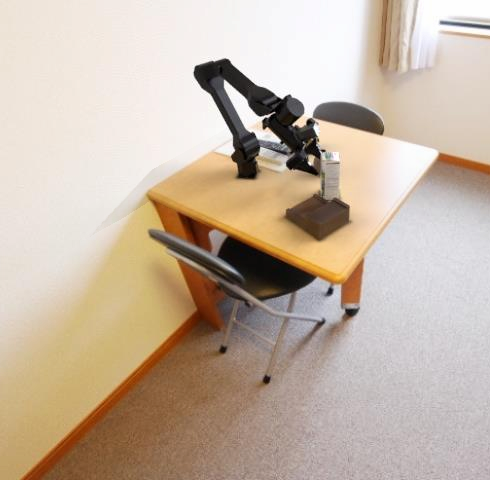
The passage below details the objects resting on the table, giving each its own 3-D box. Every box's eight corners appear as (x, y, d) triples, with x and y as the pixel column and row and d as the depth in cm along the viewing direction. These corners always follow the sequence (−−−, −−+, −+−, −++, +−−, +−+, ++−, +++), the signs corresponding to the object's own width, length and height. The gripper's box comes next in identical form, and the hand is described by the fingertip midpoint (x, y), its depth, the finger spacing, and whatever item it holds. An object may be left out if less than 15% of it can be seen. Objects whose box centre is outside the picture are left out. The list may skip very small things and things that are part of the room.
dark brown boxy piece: (286, 217, 109) (284, 201, 105) (315, 200, 115) (315, 185, 111) (319, 240, 101) (319, 224, 97) (348, 221, 107) (349, 205, 103)
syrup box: (319, 191, 119) (319, 152, 110) (336, 189, 120) (338, 151, 110) (321, 200, 115) (321, 161, 105) (339, 199, 115) (340, 160, 106)
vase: (330, 178, 125) (331, 156, 119) (311, 176, 126) (311, 154, 120) (333, 168, 130) (334, 146, 124) (315, 167, 131) (315, 145, 125)
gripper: (293, 127, 94) (333, 168, 99) (310, 102, 108) (344, 138, 113) (269, 151, 101) (307, 188, 106) (287, 124, 114) (321, 158, 120)
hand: (321, 167), depth 111 cm, fingers open, 9 cm apart
